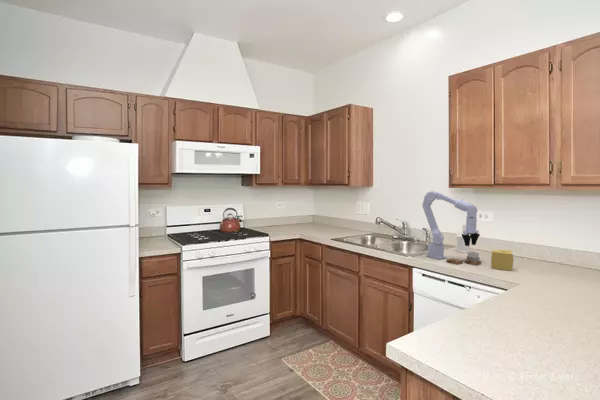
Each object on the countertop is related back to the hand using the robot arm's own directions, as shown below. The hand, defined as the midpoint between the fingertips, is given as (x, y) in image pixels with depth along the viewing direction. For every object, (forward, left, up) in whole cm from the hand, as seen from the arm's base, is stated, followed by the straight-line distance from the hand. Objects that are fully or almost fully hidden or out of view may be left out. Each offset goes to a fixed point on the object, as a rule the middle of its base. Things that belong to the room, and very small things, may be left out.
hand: (470, 245), depth 208 cm
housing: (+5, -6, -8) cm, 11 cm away
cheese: (+20, -1, -10) cm, 22 cm away
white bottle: (-17, +25, -10) cm, 32 cm away
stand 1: (-2, -14, -10) cm, 17 cm away
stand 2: (+5, -6, -10) cm, 13 cm away
